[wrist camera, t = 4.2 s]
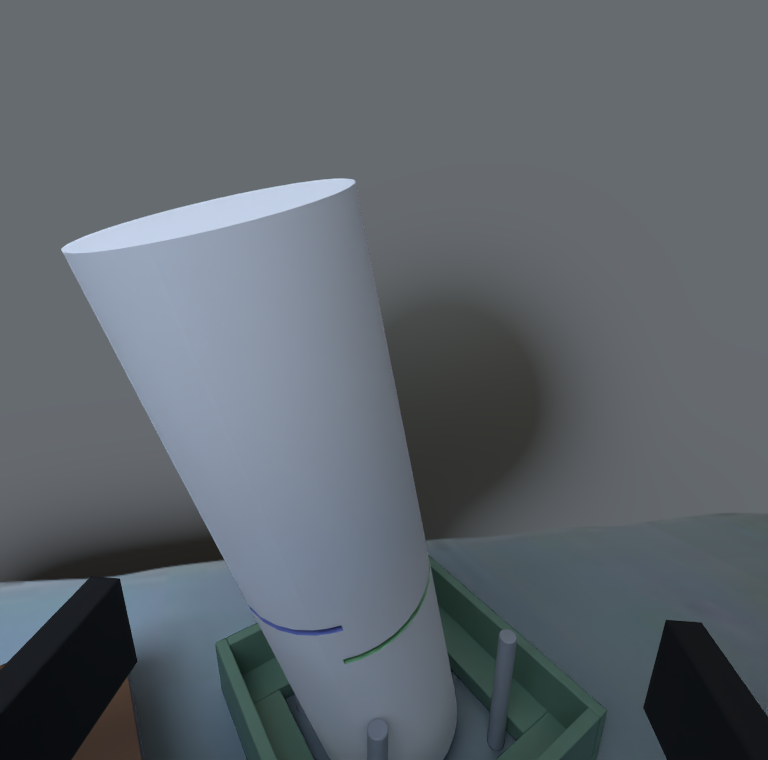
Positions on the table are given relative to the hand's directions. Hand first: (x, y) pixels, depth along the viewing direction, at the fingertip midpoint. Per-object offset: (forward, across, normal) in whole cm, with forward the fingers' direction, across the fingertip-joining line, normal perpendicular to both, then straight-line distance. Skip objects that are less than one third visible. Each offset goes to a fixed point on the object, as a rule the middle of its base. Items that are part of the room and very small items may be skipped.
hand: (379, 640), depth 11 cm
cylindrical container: (+9, 0, -14) cm, 17 cm away
